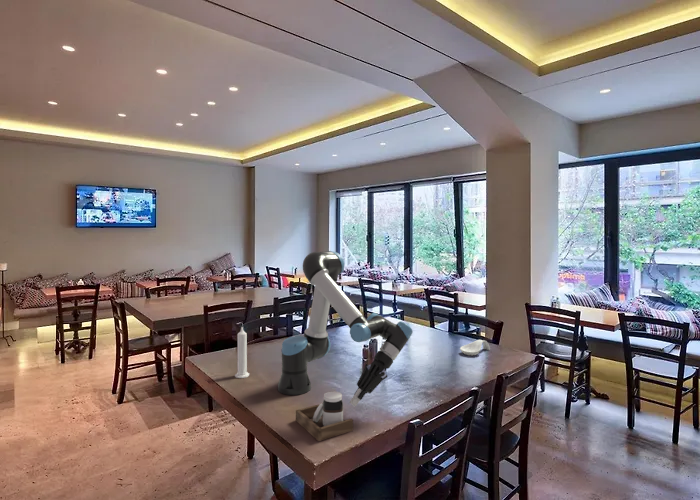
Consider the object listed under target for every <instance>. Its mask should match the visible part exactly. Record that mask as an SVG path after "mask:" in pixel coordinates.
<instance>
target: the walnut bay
mask: <svg viewBox="0 0 700 500" xmlns="http://www.w3.org/2000/svg"><path fill="white" fill-rule="evenodd" d="M320 404H323V402H321V403H319V404H314V405H311V406H307V407H304V408H299V409H296V410H295V422H297V423H298V424H299V425H300V426H301V427H302V428H303V429H305V430H306V431H307V432H308V433H309V434H310V435H311V436H312V437H313V438H314V439H316V440H317V441H318V442H321V441H323V440H328V439H330V438H333V437H334V438H335V437H337V436H341V435H343V434H347V433H350V432H353V431H354V419H353V418H348V419H345V420H344V419H343V421H341V422H338V423H334V424H331V425H327V426H324V427H323V426H322V427H320V426H319V424H316V422H314V421H313V416H314V413H315V411H316V409H317V408H318V406H319V405H320ZM322 416H323V413H322Z"/></svg>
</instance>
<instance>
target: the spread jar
mask: <svg viewBox="0 0 700 500" xmlns="http://www.w3.org/2000/svg"><path fill="white" fill-rule="evenodd" d="M342 398H343V393H341V392H339V391H328V392H325V393H324V394H323V401H322V403H323V404H322V403H319V404H320V405H319V406H318V408H317V409H316V411H315V413H314V416H313V418H312V421H313V422H314V423H318V422H319V420H321V418H322V427H324V426H327V425H331V424H334V423H338V422H341V421H344V403H343V399H342ZM322 413H323V415H322Z"/></svg>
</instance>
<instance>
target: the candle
mask: <svg viewBox="0 0 700 500" xmlns="http://www.w3.org/2000/svg"><path fill="white" fill-rule="evenodd" d="M236 335H237V338H236V339H237V373H235V374H234V377H235V378H237V379H245V378H248V377H250V372H248V367H247V366H248V359H247V358H248V356H247V355H248V344H247V343H248V341H247V338H248V336H247V332H246V331H245V330H244V328H243V326H241V328H240V331H239V332H238V333H237V334H236Z"/></svg>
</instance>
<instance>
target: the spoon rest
mask: <svg viewBox="0 0 700 500" xmlns="http://www.w3.org/2000/svg"><path fill="white" fill-rule="evenodd" d="M481 349H483V350H486V351H491V347H490V344H489V343H488V341H487V340H484V339H483V340H482V339H477V340H475V341H472V342H470V343H467V344H465V345H462V346H460V347H459V350H460V351H461V353H463V354H464V355H466V356H469V357H470V356H473V357H474V356H476V355H478V354H479V353H480V352H481Z"/></svg>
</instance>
